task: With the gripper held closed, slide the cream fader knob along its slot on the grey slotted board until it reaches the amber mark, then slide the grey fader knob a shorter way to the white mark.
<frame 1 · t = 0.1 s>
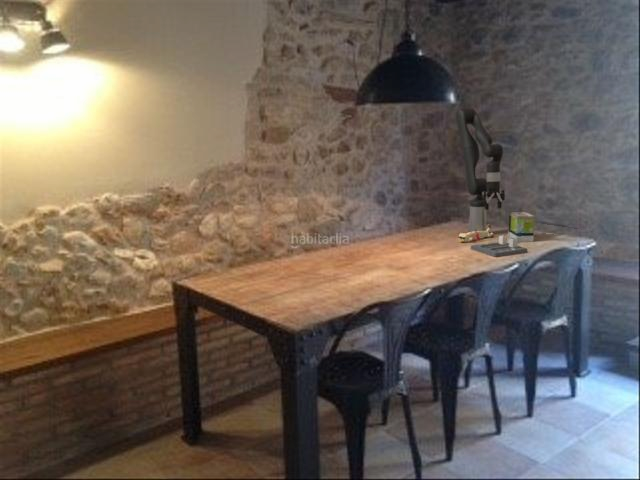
hand: (493, 209, 326), 17 cm above the table, tool pointing down, fingers open, 8 cm apart
grey slotted board: (498, 250, 302), on the table
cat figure: (475, 240, 330), on the table
cream fader: (503, 239, 307), point 5 cm above the table, slide at 0.0 cm
tea box: (520, 239, 326), on the table
grey fader: (513, 242, 299), point 5 cm above the table, slide at 0.0 cm
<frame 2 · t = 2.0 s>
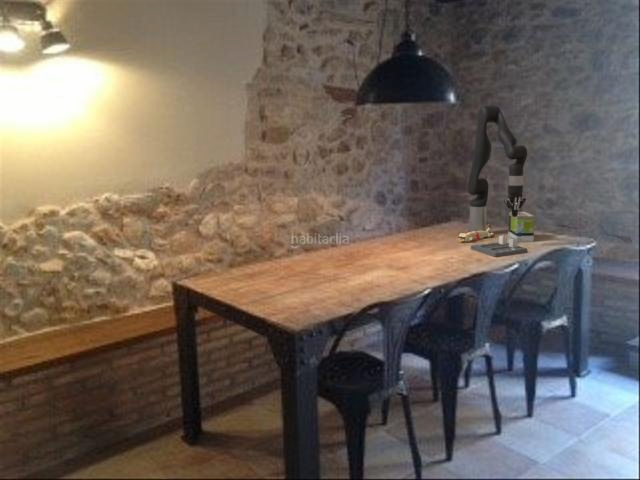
hand: (514, 216, 307), 16 cm above the table, tool pointing down, fingers closed
nothing on the table moved.
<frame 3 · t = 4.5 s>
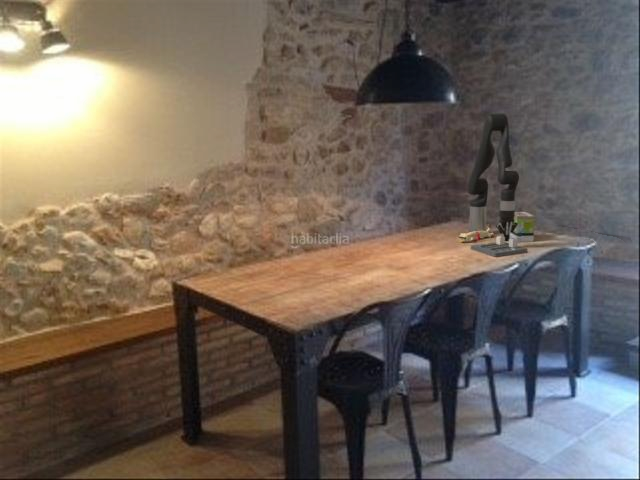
hand: (506, 241, 308), 4 cm above the table, tool pointing down, fingers closed
cream fader: (500, 239, 306), point 5 cm above the table, slide at 1.6 cm, touching gripper
everything else where it was.
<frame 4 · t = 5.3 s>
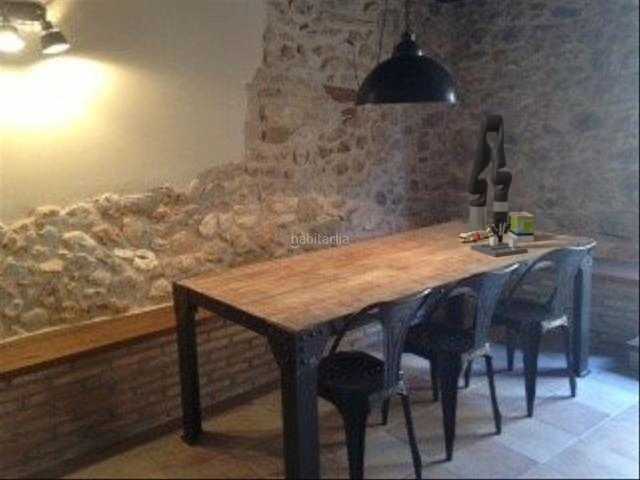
hand: (499, 241, 306), 4 cm above the table, tool pointing down, fingers closed
cream fader: (493, 240, 305), point 5 cm above the table, slide at 6.0 cm, touching gripper
everything else where it was.
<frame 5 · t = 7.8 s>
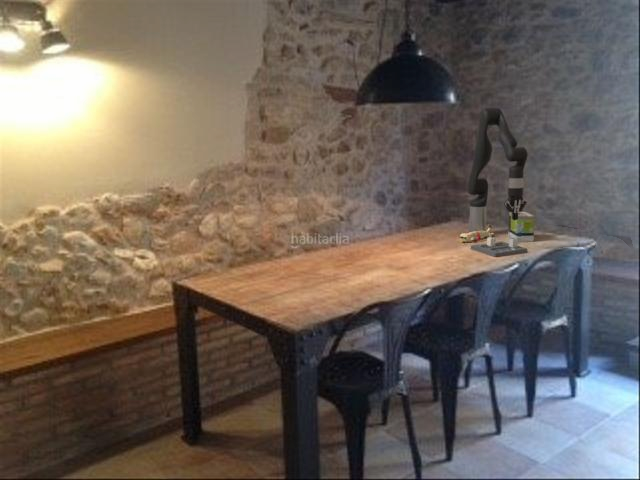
hand: (514, 219, 301), 16 cm above the table, tool pointing down, fingers closed
cream fader: (491, 241, 304), point 5 cm above the table, slide at 7.6 cm
everything else where it was.
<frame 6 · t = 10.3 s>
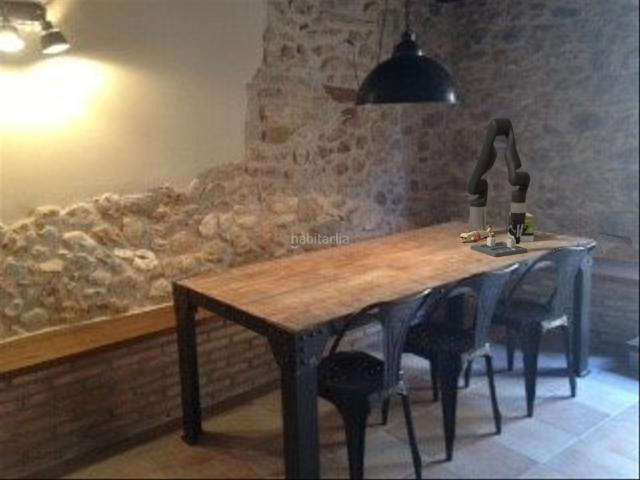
hand: (517, 243, 300), 4 cm above the table, tool pointing down, fingers closed
grey fader: (511, 242, 299), point 5 cm above the table, slide at 1.3 cm, touching gripper
everything else where it was.
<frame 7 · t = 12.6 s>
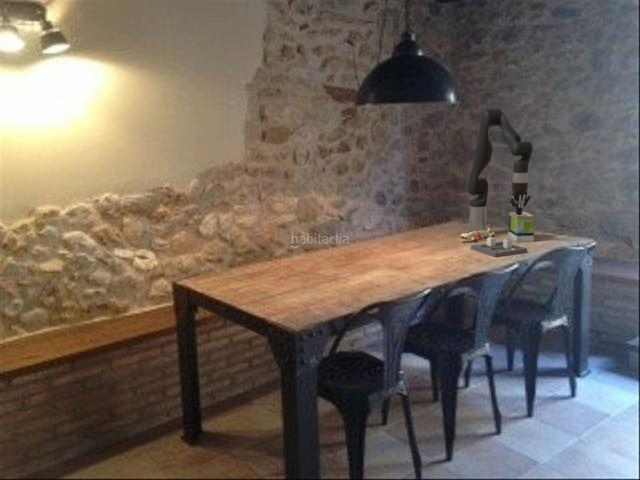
hand: (518, 214, 298), 19 cm above the table, tool pointing down, fingers closed
grey fader: (507, 243, 298), point 5 cm above the table, slide at 3.6 cm
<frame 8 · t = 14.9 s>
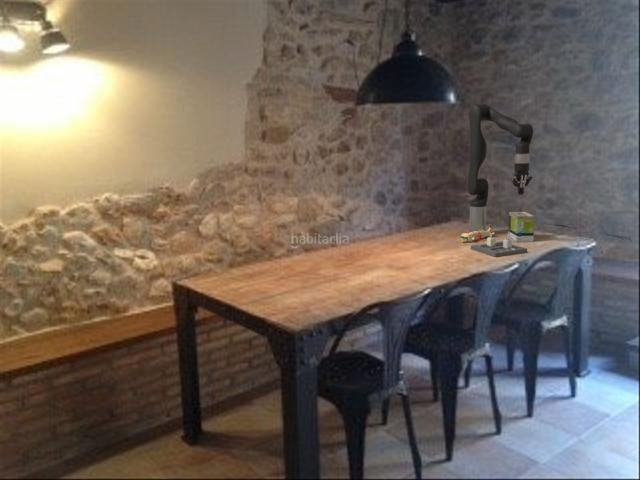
hand: (520, 194, 311), 27 cm above the table, tool pointing down, fingers closed
at the end: cream fader slide at 7.6 cm; grey fader slide at 3.6 cm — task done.
